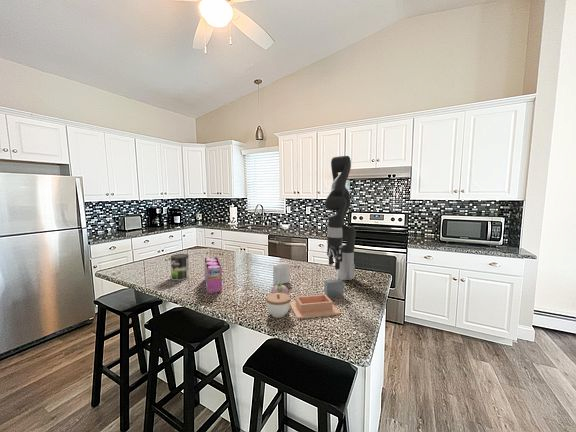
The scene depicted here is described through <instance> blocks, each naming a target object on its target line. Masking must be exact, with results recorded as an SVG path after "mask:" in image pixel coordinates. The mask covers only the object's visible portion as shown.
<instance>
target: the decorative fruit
mask: <svg viewBox="0 0 576 432" xmlns="http://www.w3.org/2000/svg"><path fill="white" fill-rule="evenodd" d="M289 291H290V290H289V289H288V288H287V286H286V285H284V284H280V283H279V284H277V285H274V286H273V287H271V290H270V294H272V293H285V294H288V295H289V296H290V292H289Z"/></svg>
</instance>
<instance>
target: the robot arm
mask: <svg viewBox="0 0 576 432" xmlns="http://www.w3.org/2000/svg"><path fill="white" fill-rule="evenodd" d="M330 160H331V161H330V169H331V175H332V179H333V180H332V183H331V189H330V193H329V194H328V195H327V197H326V199H325V202H324V207H325V208H326V210H328V211H333V212H335V214H333V215H329V216H328V220H327V221H328V222H327V223H328V224H327V234H326V235H327V237H326V238H327V239H326V241H327V243H326V244H327V245H326V246H327V247H326V248H327V249H326V256H328V257H327V258H328V265H329V266H333V265H334V269H335V270H337V278H338V279H341V280H342V281H345V280H350V281H353V280H355V272H356V271H355V267H356V265H355V262H354V258H355V257H354V256H355V255H354V254H355V246H356V236H357V235H356V234H357V231H356V228H355V226H351V225H345V217H346V215H347V214H348V211H349V210H350V207H351V194H350V193H351V192H350V191H349V190H348V189H347V187H346V184H347V181H348V178H349V175H350V172H351V170H352V159H351V157H350V156H349V155H340V156H333V157H332V158H331V159H330ZM339 173H340V174H339ZM343 241H346V242H345V244H344V245H343ZM334 261H335V262H334ZM352 279H353V280H352Z"/></svg>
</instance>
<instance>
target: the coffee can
mask: <svg viewBox="0 0 576 432" xmlns="http://www.w3.org/2000/svg"><path fill="white" fill-rule="evenodd" d="M189 257H190V256H189V254H188V253H178V254H177V253H176V254H173V255H171V256H170V274H171V275H170V276H171V278H170V279H171V280H172V281H175V280H179V281H184V279H185V280H187V279H189V278H190V276H189V275H190V274H189V272H190V270H189V262H190V261H189Z"/></svg>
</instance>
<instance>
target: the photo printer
mask: <svg viewBox="0 0 576 432" xmlns="http://www.w3.org/2000/svg"><path fill="white" fill-rule="evenodd" d="M290 269H291V267H290V263H289V262H278V263H276V264H274V265H273V268H272V270H273V271H272V273H273V275H272V278H273V279H272V282H273V285H274V286H275V285H277V284H279V283H280V284H282V285H284V284H288V283H290V278H291V277H290V275H291V274H290V272H291V270H290Z"/></svg>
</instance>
